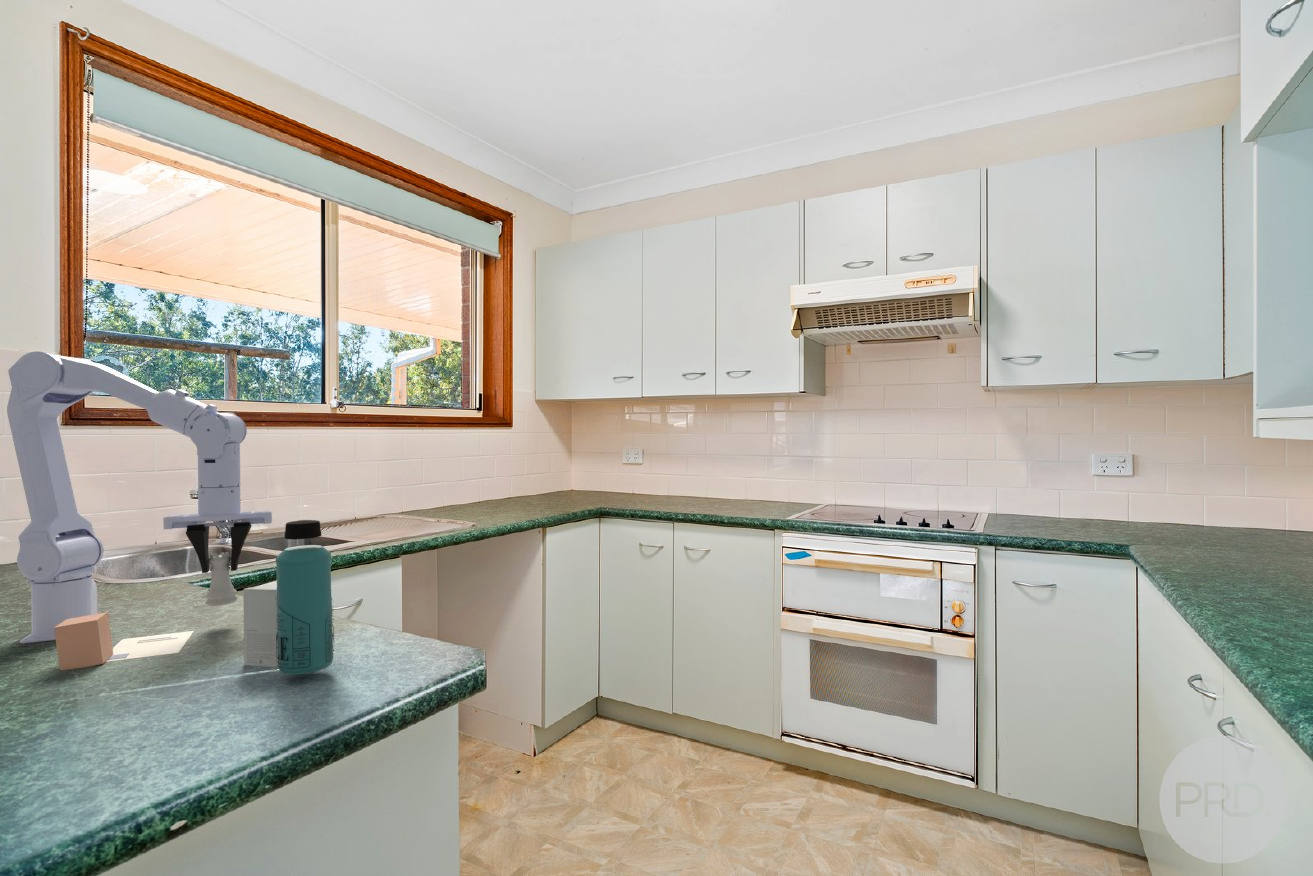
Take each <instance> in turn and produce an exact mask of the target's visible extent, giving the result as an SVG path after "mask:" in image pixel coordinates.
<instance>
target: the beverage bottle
mask: <svg viewBox="0 0 1313 876" xmlns="http://www.w3.org/2000/svg"><path fill="white" fill-rule="evenodd" d="M320 537H322V529H321V522H320V520H316V519H300V520H294V521H293V520H292V521H288V522H286V523H285V529H284V539H285V540H307V539H315V538H320ZM275 557H276V558H275V565H276V566H275V568H276V571H275V572H276V581H277V588H276V589H277V599H275V600H277V614H276V615H277V621H276V622H277V624H276V625H277V635H276V656H277V648H278V658H277V659H278V662H277V663H278V665H277V666H278V667H277V668H278V670H279V672H280V673H282V674H286V675H300V674H302V675H303V674H308V673H314V672H317V671H318V672H319V671H321V670H323V669H326V668H327V667H330V666H331V665H332V663H333V659H334V658H335V656H334V655H335V654H334V653H335V650H334V648H335V645H334V642H335V626H334V624H333V621H334V620H335V619H334V612H333V611H334V608H333V602H332V601H334V600H333V598H332V569H331V568H332V567H331V563H332V561H331V558H332V553H331V552H330V551H329V550H328V549H326V548H325V547H324V546H323V545H319V544H318V545H316V544H308V545H298V546H297V545H296V546H291V547H286V548H285V549H284V550H282V551H281V552H280V553H279V554H278V555H277V556H275ZM277 640H278V647H277Z"/></svg>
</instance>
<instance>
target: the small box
mask: <svg viewBox="0 0 1313 876" xmlns="http://www.w3.org/2000/svg"><path fill="white" fill-rule="evenodd" d="M276 588H277V580H273V581H269V582H267V583H263V584H261V585H256V586H252V587H246V588H243V590H242V591H243V665H244V666H253V667H255V666H256V667H267V668H269V667H270V668H278V666H277V665H278V663H277V662H278V659H277V658H278V648H277V656H276V635H277V625H276V624H277V622H276V621H277V615H276V614H277V600H275V599H277V589H276ZM277 647H278V640H277Z"/></svg>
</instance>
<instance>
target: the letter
mask: <svg viewBox="0 0 1313 876" xmlns="http://www.w3.org/2000/svg"><path fill="white" fill-rule="evenodd" d="M194 632H195V631H194V630H190V631H181V632H172V633H164V634H156V635H149V636H148V635H147V636H139V637H131V638H129V637H128V638H123V639H121V640H120V641H119V642H118V643H117V644H115V646H114V647H113V655H112V656H111V657H110V658H109V659H108V660H107V661H105V662H104V663H110V662H119V661H124V660H132V659H133V660H134V659H141V658H148V657H157V656H163V655H164V656H165V655H166V656H167V655H173V654H178V653H179V652H181V650H182V648H183V647H184V646H185V645H186V643H187V642H188V640H189V639H190V637H192V635H193V633H194Z"/></svg>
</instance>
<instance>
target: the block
mask: <svg viewBox="0 0 1313 876" xmlns="http://www.w3.org/2000/svg"><path fill="white" fill-rule="evenodd" d="M54 632H55V639H56V640H55V643H56V644H55V645H56V653H57V660H58V667H59V671H65V670H75V669H81V668H88V667H94V666H99V665H104V664H105V663H106V662H105V661H107V660H108V659H109V658H110V657H111V656H112V655H113V648H114V647H113V640H112V634H111V633H112V632H111V625H110V619H109V612H108V611H107V612H101V613H97V614H94V615H88V616H83V617H77V618H71V619H66V620H65V621H63V622H62V623H60V624H59V625H57V626H56V627H54Z"/></svg>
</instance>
